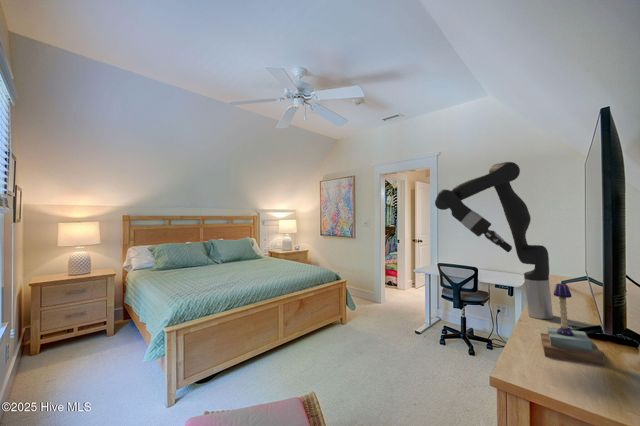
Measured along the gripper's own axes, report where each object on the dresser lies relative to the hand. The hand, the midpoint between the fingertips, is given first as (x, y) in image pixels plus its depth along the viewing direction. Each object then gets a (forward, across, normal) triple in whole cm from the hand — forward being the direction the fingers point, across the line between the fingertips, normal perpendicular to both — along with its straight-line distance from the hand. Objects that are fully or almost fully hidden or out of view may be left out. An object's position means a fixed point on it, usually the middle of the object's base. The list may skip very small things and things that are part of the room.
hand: (510, 249), depth 112 cm
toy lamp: (+29, -11, +10) cm, 33 cm away
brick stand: (+34, -11, +14) cm, 38 cm away
